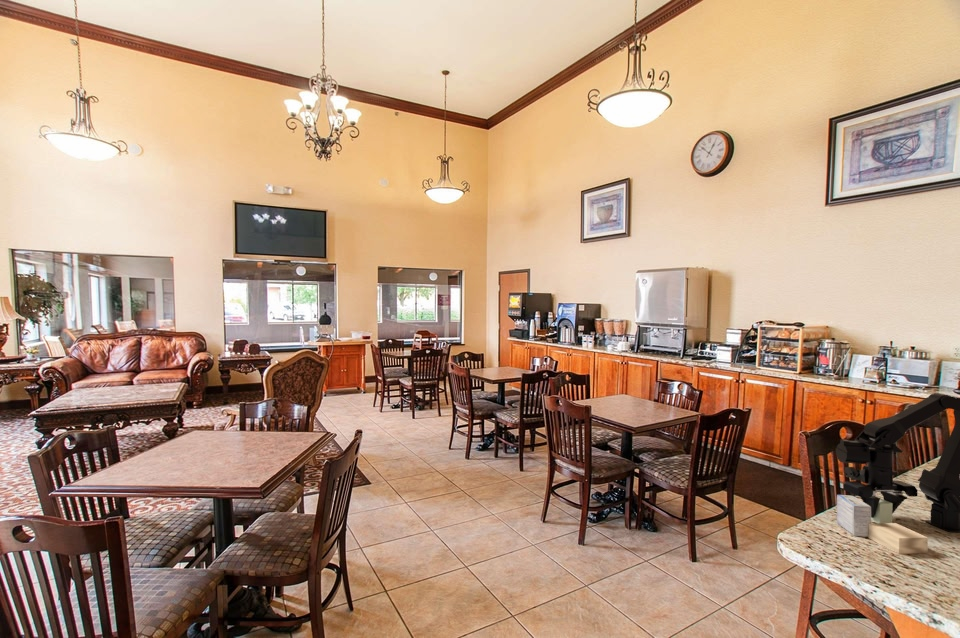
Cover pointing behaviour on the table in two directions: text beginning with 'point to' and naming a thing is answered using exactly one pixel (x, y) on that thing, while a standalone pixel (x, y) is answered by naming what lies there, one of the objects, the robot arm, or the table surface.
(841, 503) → the medicine box
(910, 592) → the table surface
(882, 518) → the sage block
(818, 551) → the table surface
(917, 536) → the beech slab
